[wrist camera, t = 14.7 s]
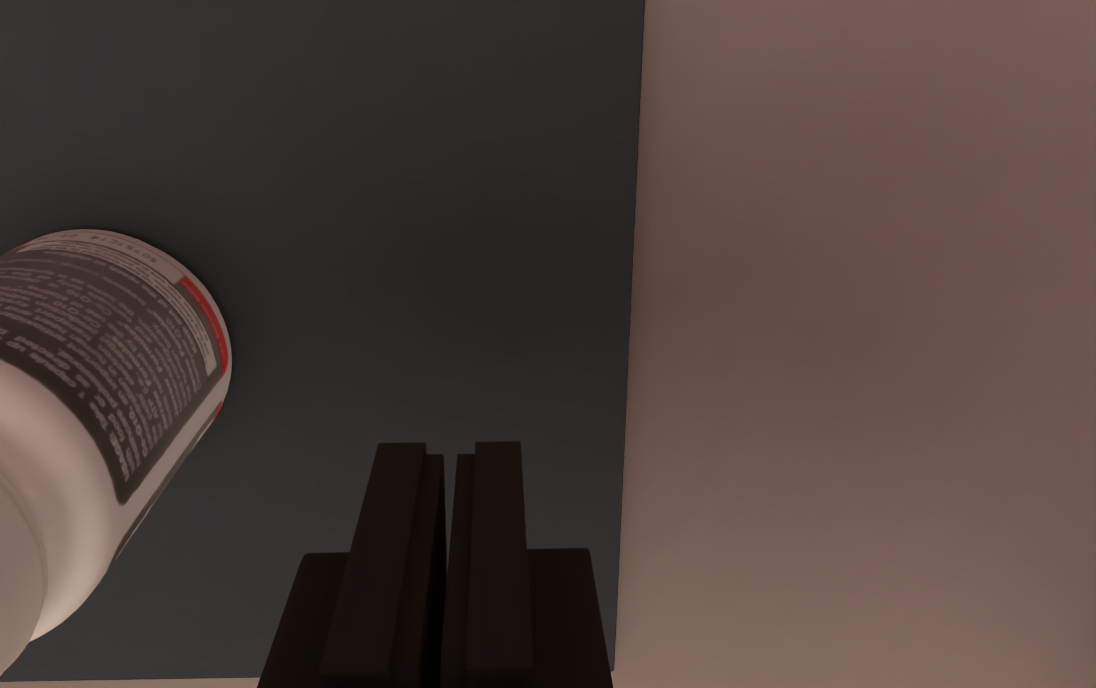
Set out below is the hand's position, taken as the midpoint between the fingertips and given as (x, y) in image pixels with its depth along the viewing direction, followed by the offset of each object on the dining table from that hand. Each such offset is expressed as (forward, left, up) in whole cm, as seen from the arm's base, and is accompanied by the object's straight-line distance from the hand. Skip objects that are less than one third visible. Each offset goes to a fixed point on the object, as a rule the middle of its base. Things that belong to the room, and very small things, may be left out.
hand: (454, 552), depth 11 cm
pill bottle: (+7, 0, -8) cm, 10 cm away
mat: (+7, 0, -8) cm, 11 cm away
